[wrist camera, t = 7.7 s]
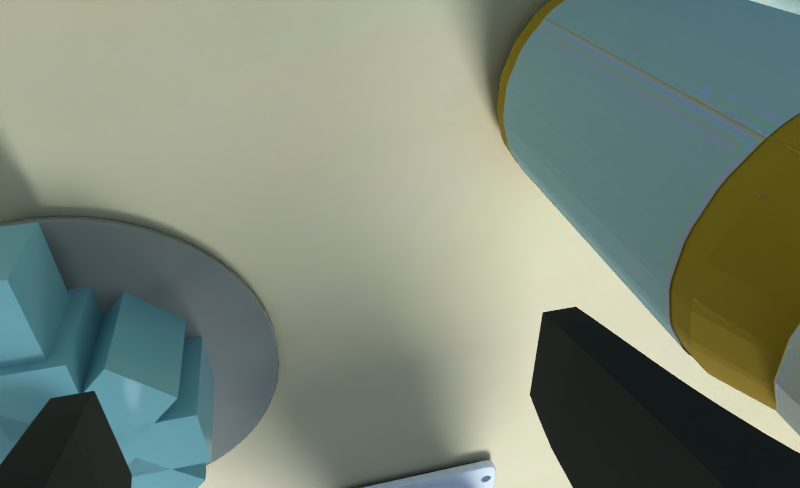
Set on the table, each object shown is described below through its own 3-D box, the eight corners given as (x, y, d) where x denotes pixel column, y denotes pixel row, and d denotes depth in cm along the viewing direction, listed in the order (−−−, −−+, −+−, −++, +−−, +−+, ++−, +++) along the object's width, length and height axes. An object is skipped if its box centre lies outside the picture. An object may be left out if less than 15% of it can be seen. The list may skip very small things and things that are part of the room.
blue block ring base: (296, 449, 26) (305, 534, 23) (-28, 514, 24) (-70, 620, 20) (247, 183, 18) (250, 252, 15) (-232, 240, 16) (-350, 336, 13)
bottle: (446, 113, 19) (831, 591, 7) (598, -89, 16) (1615, 83, 4) (582, 206, 22) (998, 633, 10) (723, 50, 20) (1486, 362, 8)
